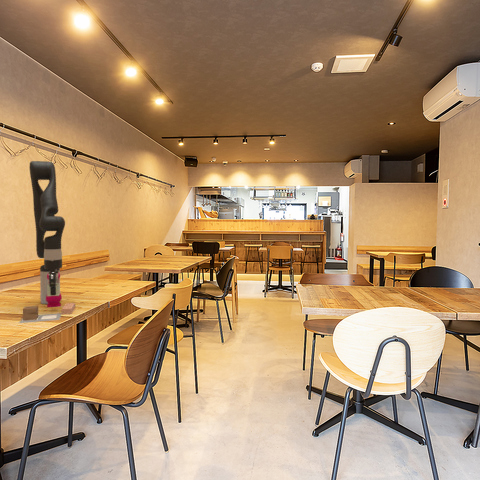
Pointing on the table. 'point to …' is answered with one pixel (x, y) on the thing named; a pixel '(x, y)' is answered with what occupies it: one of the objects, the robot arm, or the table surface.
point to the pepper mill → (54, 297)
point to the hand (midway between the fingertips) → (53, 293)
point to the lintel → (68, 308)
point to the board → (44, 318)
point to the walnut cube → (30, 313)
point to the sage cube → (56, 290)
